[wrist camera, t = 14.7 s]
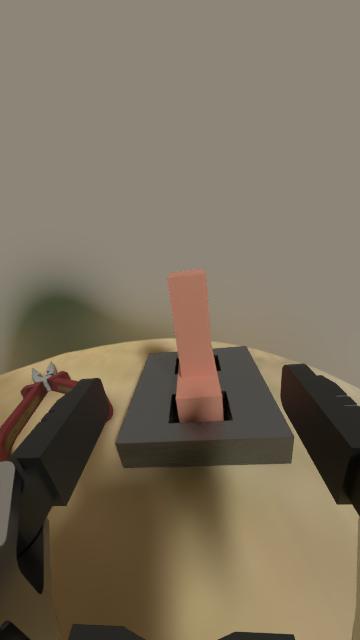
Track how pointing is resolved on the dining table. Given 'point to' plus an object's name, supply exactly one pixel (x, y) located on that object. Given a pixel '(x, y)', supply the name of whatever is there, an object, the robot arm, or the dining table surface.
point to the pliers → (34, 405)
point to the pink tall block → (194, 349)
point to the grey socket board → (204, 437)
